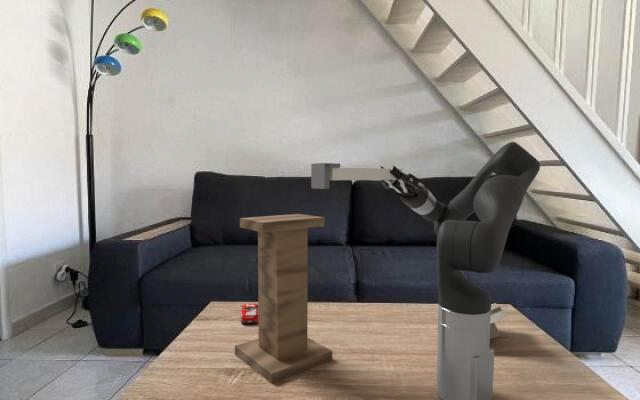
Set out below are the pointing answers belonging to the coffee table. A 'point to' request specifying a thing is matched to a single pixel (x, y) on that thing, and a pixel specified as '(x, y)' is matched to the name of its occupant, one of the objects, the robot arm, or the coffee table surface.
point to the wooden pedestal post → (282, 298)
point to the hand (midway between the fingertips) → (385, 169)
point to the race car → (249, 313)
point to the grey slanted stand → (496, 319)
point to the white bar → (345, 174)
